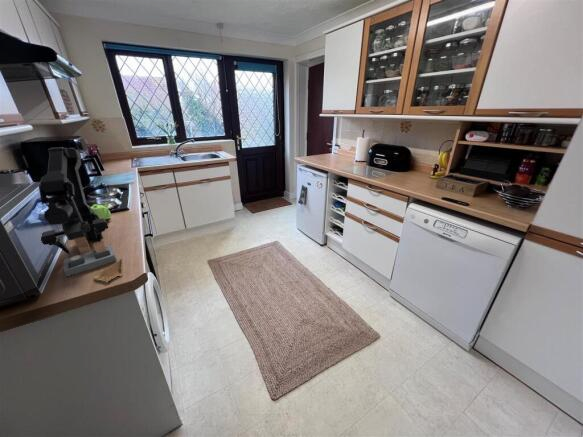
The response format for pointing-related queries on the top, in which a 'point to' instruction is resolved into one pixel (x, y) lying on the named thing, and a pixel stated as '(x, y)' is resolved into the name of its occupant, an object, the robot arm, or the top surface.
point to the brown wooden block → (82, 245)
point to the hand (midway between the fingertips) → (85, 249)
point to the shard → (110, 271)
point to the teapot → (102, 211)
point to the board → (89, 259)
